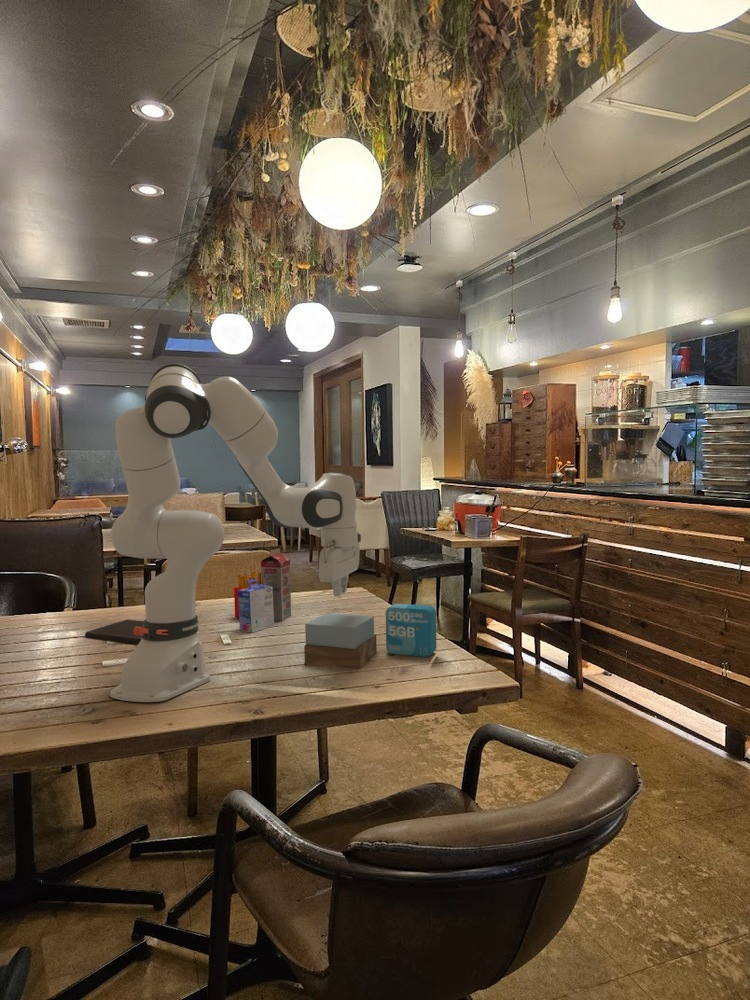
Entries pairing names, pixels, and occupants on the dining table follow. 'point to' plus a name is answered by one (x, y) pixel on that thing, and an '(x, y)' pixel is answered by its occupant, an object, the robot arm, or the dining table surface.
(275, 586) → the juice carton
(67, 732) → the dining table surface
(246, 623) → the ink cartridge box
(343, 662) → the walnut base block
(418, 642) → the data package
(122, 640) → the hardcover book
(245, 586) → the french fries container
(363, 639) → the slate top block
